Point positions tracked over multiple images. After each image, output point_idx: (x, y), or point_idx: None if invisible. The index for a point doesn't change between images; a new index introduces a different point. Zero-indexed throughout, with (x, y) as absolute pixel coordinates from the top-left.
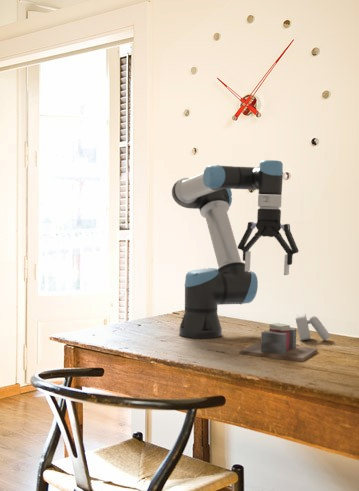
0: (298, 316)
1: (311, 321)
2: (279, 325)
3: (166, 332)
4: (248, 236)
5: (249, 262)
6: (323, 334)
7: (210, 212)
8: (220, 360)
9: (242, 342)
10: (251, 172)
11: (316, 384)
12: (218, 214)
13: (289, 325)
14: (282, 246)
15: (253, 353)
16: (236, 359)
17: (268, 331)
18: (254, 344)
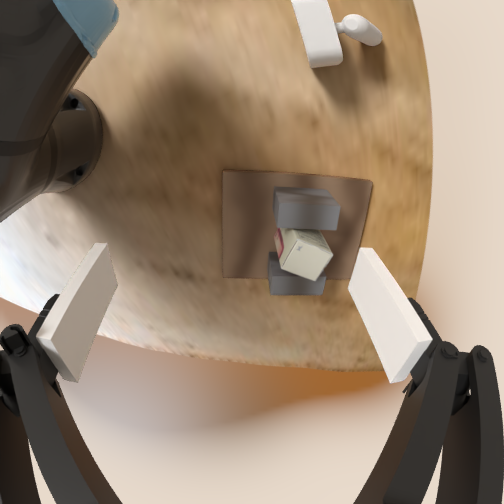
0: (313, 35)
1: (350, 36)
2: (309, 273)
3: None
4: (11, 470)
5: (89, 289)
6: (369, 44)
7: None
8: (218, 326)
9: (177, 160)
10: None
11: (365, 359)
12: None
13: (332, 256)
14: (391, 440)
15: (254, 277)
16: (238, 311)
17: (282, 278)
18: (227, 206)
